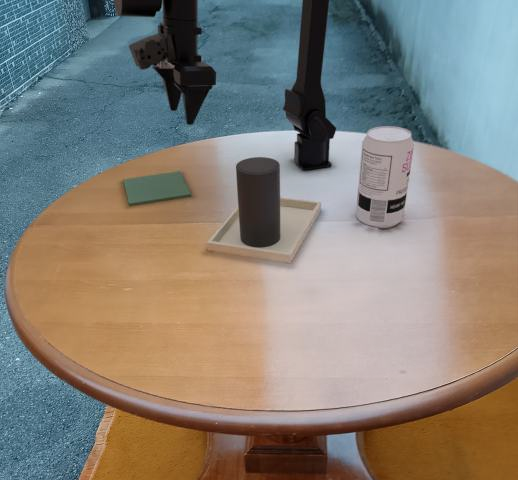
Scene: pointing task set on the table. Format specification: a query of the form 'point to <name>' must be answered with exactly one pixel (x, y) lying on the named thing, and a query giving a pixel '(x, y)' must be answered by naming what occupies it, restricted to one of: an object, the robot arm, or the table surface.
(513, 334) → the table surface
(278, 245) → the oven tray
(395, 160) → the supplement can
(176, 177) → the plate
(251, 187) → the dark grey cylinder
